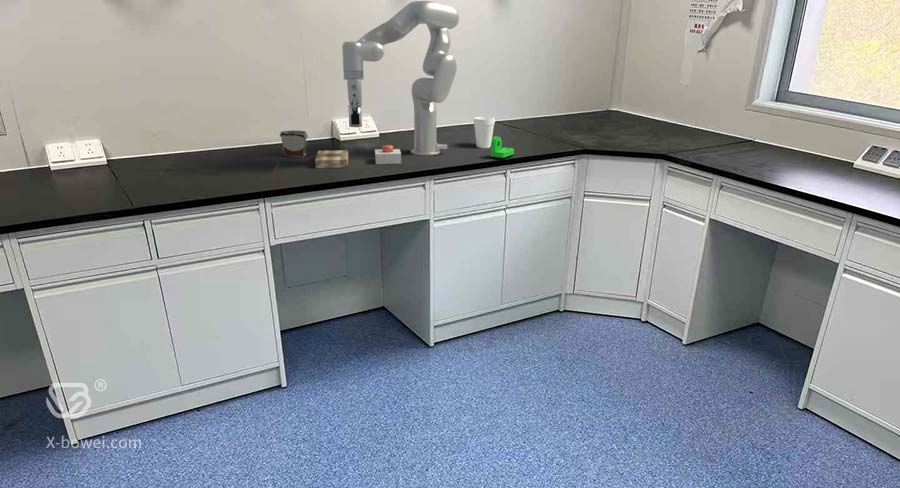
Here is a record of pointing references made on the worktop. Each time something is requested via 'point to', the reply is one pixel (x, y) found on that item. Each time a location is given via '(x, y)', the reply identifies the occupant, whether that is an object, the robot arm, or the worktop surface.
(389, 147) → the button
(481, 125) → the foam cup
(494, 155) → the mechanical part
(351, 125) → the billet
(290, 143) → the food container
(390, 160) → the button station
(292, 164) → the worktop surface
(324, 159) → the pallet
